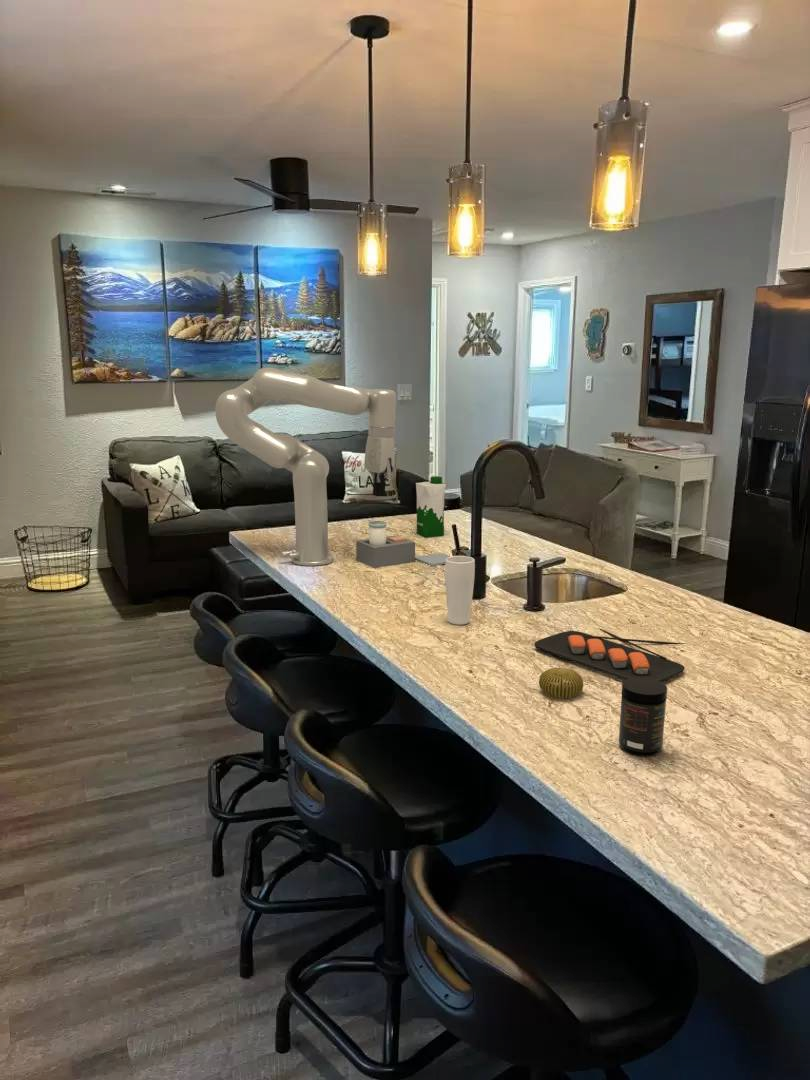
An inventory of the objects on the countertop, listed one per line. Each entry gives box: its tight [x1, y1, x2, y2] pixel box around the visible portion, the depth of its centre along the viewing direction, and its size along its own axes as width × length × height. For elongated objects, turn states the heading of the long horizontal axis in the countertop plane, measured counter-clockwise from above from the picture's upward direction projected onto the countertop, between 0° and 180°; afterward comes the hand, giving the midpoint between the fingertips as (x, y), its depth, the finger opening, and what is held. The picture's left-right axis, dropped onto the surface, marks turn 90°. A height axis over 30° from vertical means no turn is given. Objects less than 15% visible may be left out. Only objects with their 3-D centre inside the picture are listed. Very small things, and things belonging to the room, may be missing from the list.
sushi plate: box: [534, 628, 687, 683], centre depth 167 cm, size 29×30×4 cm
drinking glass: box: [444, 555, 476, 626], centre depth 185 cm, size 7×7×15 cm
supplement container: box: [618, 678, 668, 757], centre depth 125 cm, size 7×7×10 cm
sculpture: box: [538, 667, 584, 700], centre depth 147 cm, size 8×4×8 cm
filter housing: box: [355, 534, 416, 569], centre depth 241 cm, size 14×11×6 cm
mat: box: [415, 552, 451, 567], centre depth 241 cm, size 10×10×1 cm
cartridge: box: [368, 520, 387, 546], centre depth 239 cm, size 5×5×12 cm
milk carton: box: [415, 475, 447, 539], centre depth 274 cm, size 9×9×20 cm
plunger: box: [387, 535, 407, 542], centre depth 243 cm, size 4×4×5 cm
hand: (378, 495), depth 237 cm, fingers closed
